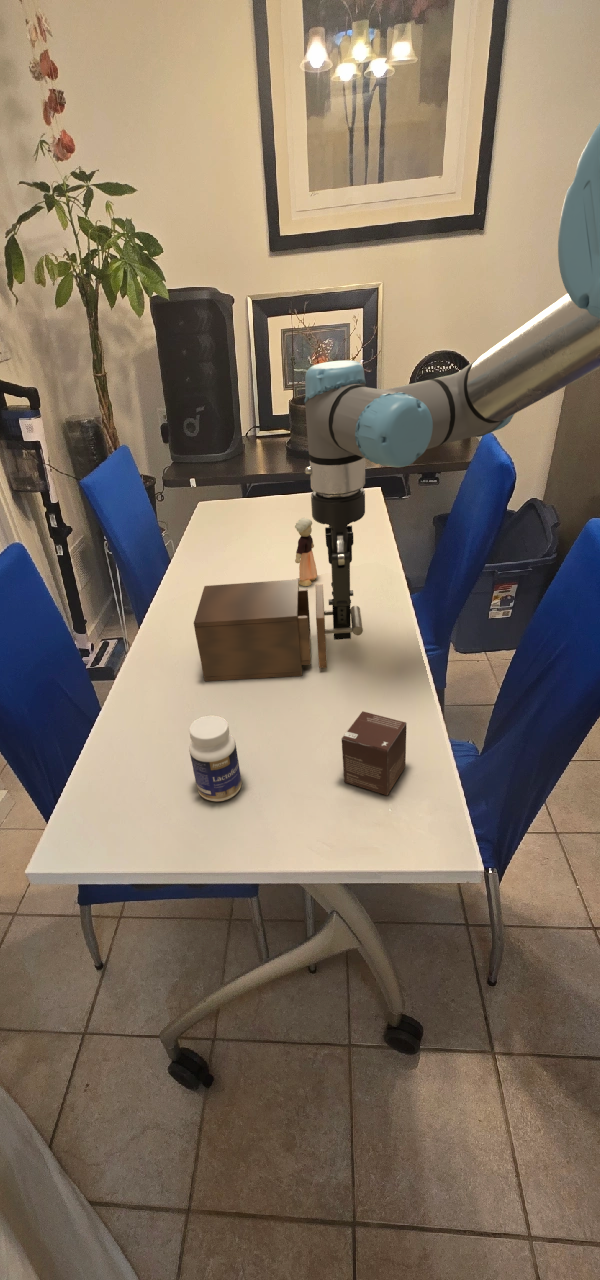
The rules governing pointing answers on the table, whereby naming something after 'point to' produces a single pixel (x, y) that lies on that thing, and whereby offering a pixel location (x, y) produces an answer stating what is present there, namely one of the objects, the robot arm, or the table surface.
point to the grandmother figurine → (305, 553)
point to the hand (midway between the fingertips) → (342, 636)
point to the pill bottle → (214, 758)
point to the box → (374, 752)
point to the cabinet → (249, 630)
